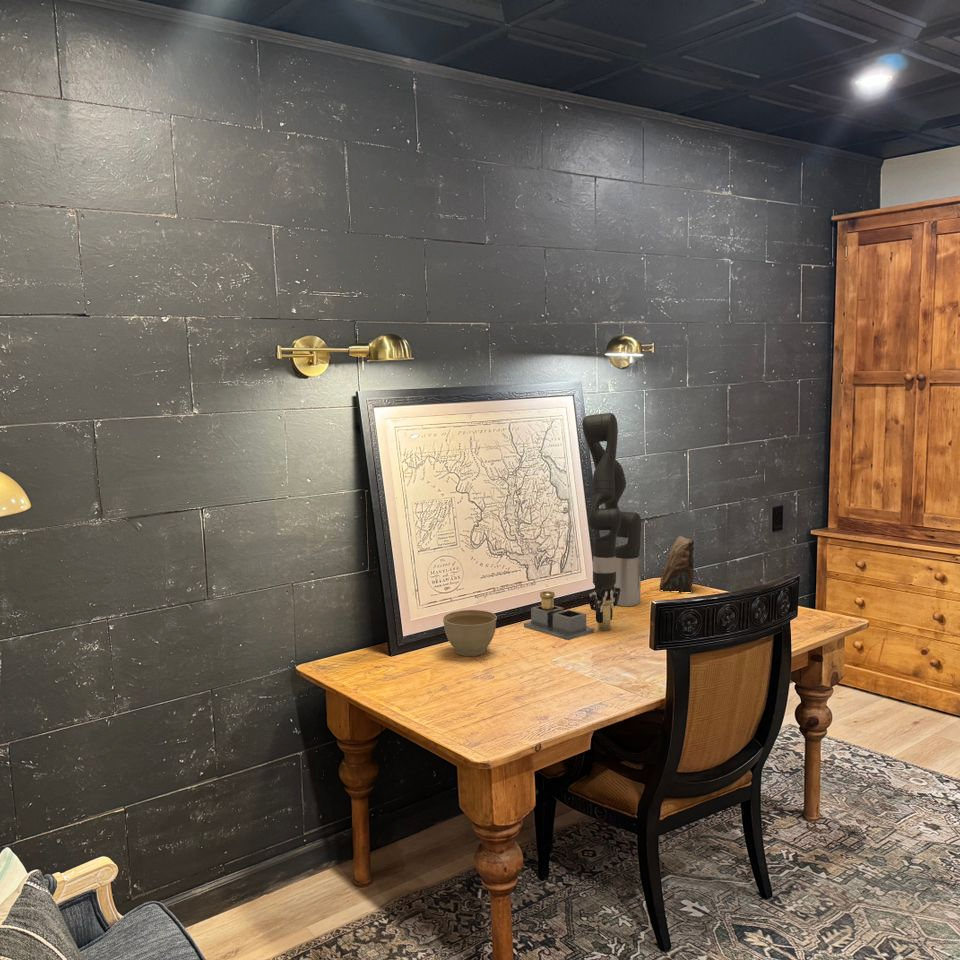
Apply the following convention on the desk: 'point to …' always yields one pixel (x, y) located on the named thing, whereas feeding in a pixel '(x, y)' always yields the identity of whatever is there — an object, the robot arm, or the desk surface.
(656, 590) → the desk surface
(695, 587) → the desk surface
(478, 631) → the planter bowl
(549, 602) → the grey double holder
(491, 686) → the desk surface
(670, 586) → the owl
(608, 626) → the brass stub
